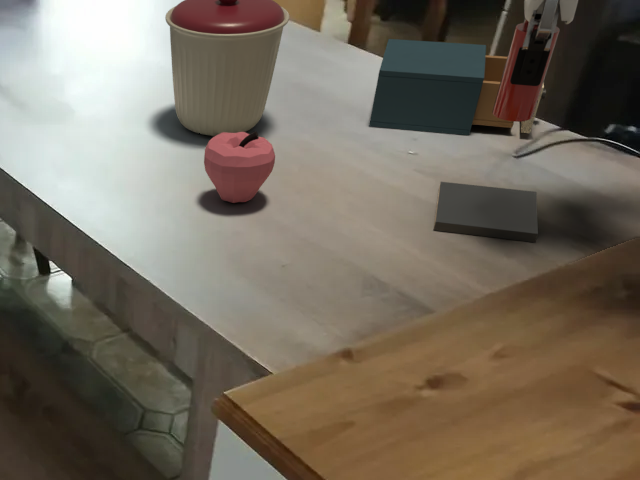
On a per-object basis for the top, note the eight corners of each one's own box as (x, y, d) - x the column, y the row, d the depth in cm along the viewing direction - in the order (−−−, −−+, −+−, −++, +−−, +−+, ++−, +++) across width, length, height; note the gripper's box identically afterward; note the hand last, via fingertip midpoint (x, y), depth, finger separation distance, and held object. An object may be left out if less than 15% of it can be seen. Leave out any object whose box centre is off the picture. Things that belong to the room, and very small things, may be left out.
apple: (259, 182, 132) (267, 112, 125) (278, 210, 125) (288, 138, 118) (193, 189, 131) (198, 119, 124) (209, 217, 125) (215, 145, 118)
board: (533, 200, 124) (536, 191, 123) (535, 242, 115) (538, 233, 115) (438, 189, 127) (440, 181, 126) (433, 230, 119) (435, 221, 118)
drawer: (537, 100, 146) (550, 56, 142) (538, 134, 137) (553, 87, 132) (438, 93, 150) (448, 49, 146) (433, 124, 141) (444, 79, 137)
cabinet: (472, 100, 150) (486, 44, 144) (469, 135, 140) (484, 77, 134) (378, 92, 154) (388, 38, 149) (368, 126, 144) (379, 70, 138)
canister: (300, 124, 146) (320, -21, 132) (218, 158, 138) (231, 8, 124) (217, 94, 157) (228, -43, 143) (137, 123, 149) (141, -18, 135)
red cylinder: (532, 108, 113) (559, 23, 107) (533, 123, 110) (560, 35, 104) (492, 105, 115) (516, 20, 108) (491, 119, 112) (516, 33, 105)
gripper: (622, -80, 91) (561, 105, 103) (609, -116, 102) (556, 54, 114) (538, -82, 93) (488, 99, 105) (535, -117, 104) (491, 50, 116)
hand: (524, 74), depth 109 cm, fingers closed on red cylinder, 4 cm apart
